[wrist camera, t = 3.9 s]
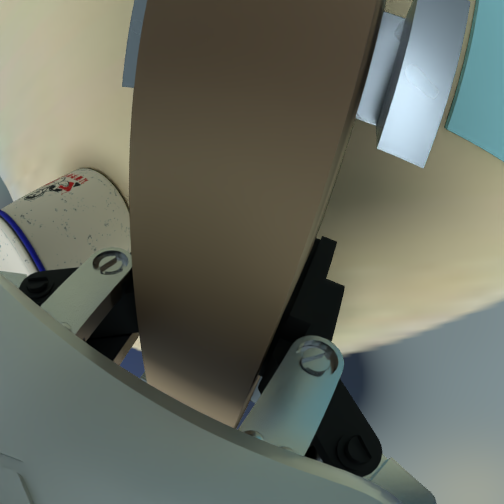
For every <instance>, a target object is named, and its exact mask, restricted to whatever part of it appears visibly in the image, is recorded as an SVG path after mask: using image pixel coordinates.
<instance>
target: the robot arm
mask: <svg viewBox="0 0 504 504" xmlns="http://www.w3.org/2000/svg"><path fill="white" fill-rule="evenodd" d="M336 244H337V242H336V241H334V240H331V239H329V238H326V237H324V236H322V238H321V240H320V239H317V238H316V239H315V242H314V244H313V247H312V249H311V252H310V254H309V256H308V259H307V261H306V263H305V266H304V268H303V270H302V272H301V275H300V277H299V279H298V282H297V284H296V286H295V288H294V290H293V293H292V295H291V297H290V299H289V301H288V304H287V306H286V308H285V310H284V313H283V315H282V318H281V320H280V323H279V325H278V328H277V330H276V333H275V335H274V338H273V340H272V343H271V345H270V348H269V350H268V352H267V355H266V357H265V360H264V362H263V365H262V367H261V369H260V372H259V374H258V375H259V376H262V379H261V381H260V383H259V386H258V390H259V392H260V394H261V396H260V397H259V399H258V400H257V402H256V404H255V405H254V407H253V408H252V410H251V411H250V413H249V414H248V416H247V417H246V419H245V420H244V422H243V423H242V425H241V426H240V427H239V429H238V430H237V429H235V428H232V427H230V426H228V425H226V424H224V423H222V422H219V421H217V420H215V419H213V418H211V417H209V416H207V415H205V414H203V413H201V412H199V411H197V410H195V409H193V408H191V407H189V406H187V405H185V404H183V403H182V402H180V401H178V400H176V399H174V398H172V397H171V396H169V395H167V394H165V393H163V392H162V391H160V390H158V389H156V388H155V387H153V386H151V385H150V384H148V383H146V382H145V381H143V380H141V379H140V378H138V377H136V376H135V375H133V374H131V373H130V372H128V371H127V370H125V369H124V368H122V367H121V366H119V365H120V364H121V362H122V360H123V359H124V358H125V356H126V354H127V353H128V351H129V350H130V349H131V347H132V346H133V344H134V343H135V341H136V340H137V338H138V336H139V329H138V321H137V312H136V304H135V294H134V283H133V271H132V257H131V252H130V253H129V252H128V251H126V250H124V249H121V248H114V247H110V248H104V249H101V250H99V251H97V252H95V253H94V254H93V255H92V256H90V257H89V258H88V259H87V260H86V261H85V262H84V263H83V264H82V265H81V266H80V267H75V268H65V269H56V270H46V271H39V272H35V273H33V274H30V275H29V276H27V274H21V273H13V272H6V271H0V504H436V500H435V497H434V496H433V494H432V493H431V492H430V491H429V490H428V489H426V488H425V487H424V486H423V485H422V484H421V483H419V481H417V480H416V479H415V478H414V477H413V476H412V475H411V474H409V473H408V472H407V471H406V470H405V469H404V468H402V467H401V466H400V465H399V464H398V463H397V462H396V461H395V460H394V459H393V458H389V459H387V458H386V457H385V456H384V455H383V454H382V447H381V444H380V441H379V439H378V438H377V436H376V434H375V433H374V431H373V430H372V428H371V426H370V425H369V424H368V422H367V420H366V419H365V417H364V415H363V414H362V412H361V411H360V409H359V408H358V406H357V404H356V403H355V401H354V400H353V398H352V397H351V395H350V394H349V392H348V390H347V389H346V387H345V386H344V384H343V383H342V381H341V380H340V376H341V373H342V371H343V366H344V360H343V356H342V354H341V352H340V350H339V349H338V348H337V347H336V346H335V345H334V344H333V343H332V342H331V341H332V337H333V334H334V330H335V326H336V322H337V318H338V314H339V310H340V306H341V302H342V297H343V293H344V288H345V287H344V286H343V285H341V284H338V283H336V282H333V281H331V280H328V279H326V277H327V274H328V270H329V267H330V264H331V261H332V257H333V254H334V251H335V247H336Z"/></svg>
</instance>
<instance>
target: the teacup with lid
mask: <svg viewBox="0 0 504 504" xmlns="http://www.w3.org/2000/svg"><path fill="white" fill-rule="evenodd" d="M110 247H114V248H121V249H124V250H126V251H128V252H129V253H130V252H131V240H130V215H129V212H128V209H127V207H126V205H125V202H124V200H123V199H122V197H121V195H120V194H119V192H118V191H117V189H116V188H115V187H114V185H113V184H112V183H111V182H110V181H109V180H108V179H107V178H106V177H104V176H103V175H102V174H100V173H98V172H96V171H94V170H91V169H78V170H75V171H73V172H71V173H69V174H67V175H65V176H62V177H60V178H58V179H56V180H54V181H52V182H50V183H48V184H46V185H44V186H42V187H40V188H39V189H37V190H35V191H33V192H31V193H29V194H27V195H25V196H24V197H22V198H20V199H18V200H16V201H15V202H13V203H11V204H9V205H8V206H6V207H4V208H3V209H1V210H0V271H6V272H13V273H21V274H27V276H29V275H30V274H33V273H35V272H39V271H46V270H56V269H65V268H75V267H80V266H81V265H82V264H83V263H84V262H85V261H86V260H87V259H88V258H89V257H90V256H92V255H93V254H94V253H95V252H97V251H99V250H101V249H104V248H110Z"/></svg>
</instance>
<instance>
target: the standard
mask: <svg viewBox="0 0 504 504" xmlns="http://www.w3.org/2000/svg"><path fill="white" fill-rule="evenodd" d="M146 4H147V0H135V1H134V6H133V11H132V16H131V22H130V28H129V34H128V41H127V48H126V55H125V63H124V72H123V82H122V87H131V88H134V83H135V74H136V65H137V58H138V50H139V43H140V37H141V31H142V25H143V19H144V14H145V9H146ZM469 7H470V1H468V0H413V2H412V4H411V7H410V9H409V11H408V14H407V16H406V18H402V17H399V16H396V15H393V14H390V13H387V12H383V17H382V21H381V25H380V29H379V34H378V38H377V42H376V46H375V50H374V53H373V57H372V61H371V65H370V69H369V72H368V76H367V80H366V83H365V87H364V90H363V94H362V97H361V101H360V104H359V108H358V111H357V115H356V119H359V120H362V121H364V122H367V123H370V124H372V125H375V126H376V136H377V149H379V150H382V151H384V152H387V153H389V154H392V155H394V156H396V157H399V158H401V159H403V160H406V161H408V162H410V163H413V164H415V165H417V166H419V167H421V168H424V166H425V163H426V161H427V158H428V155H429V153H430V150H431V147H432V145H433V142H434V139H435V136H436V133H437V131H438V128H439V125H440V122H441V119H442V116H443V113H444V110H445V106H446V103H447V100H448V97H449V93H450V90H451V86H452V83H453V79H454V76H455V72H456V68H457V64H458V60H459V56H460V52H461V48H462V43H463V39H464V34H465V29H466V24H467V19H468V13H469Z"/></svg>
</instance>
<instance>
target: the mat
mask: <svg viewBox="0 0 504 504" xmlns="http://www.w3.org/2000/svg"><path fill="white" fill-rule="evenodd" d="M444 128H445V129H447V130H449V131H451V132H453V133H455V134H457V135H459V136H461V137H462V138H464V139H466V140H468V141H470V142H472V143H473V144H475V145H477V146H479V147H480V148H482V149H484V150H486V151H487V152H489V153H491V154H492V155H494V156H496V157H497V158H499V159H500V160H502V161H503V162H504V0H476V4H475V11H474V17H473V22H472V27H471V33H470V37H469V42H468V47H467V51H466V55H465V59H464V64H463V67H462V71H461V75H460V79H459V82H458V86H457V89H456V93H455V96H454V100H453V103H452V106H451V109H450V112H449V115H448V118H447V121H446V124H445V127H444Z"/></svg>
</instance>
